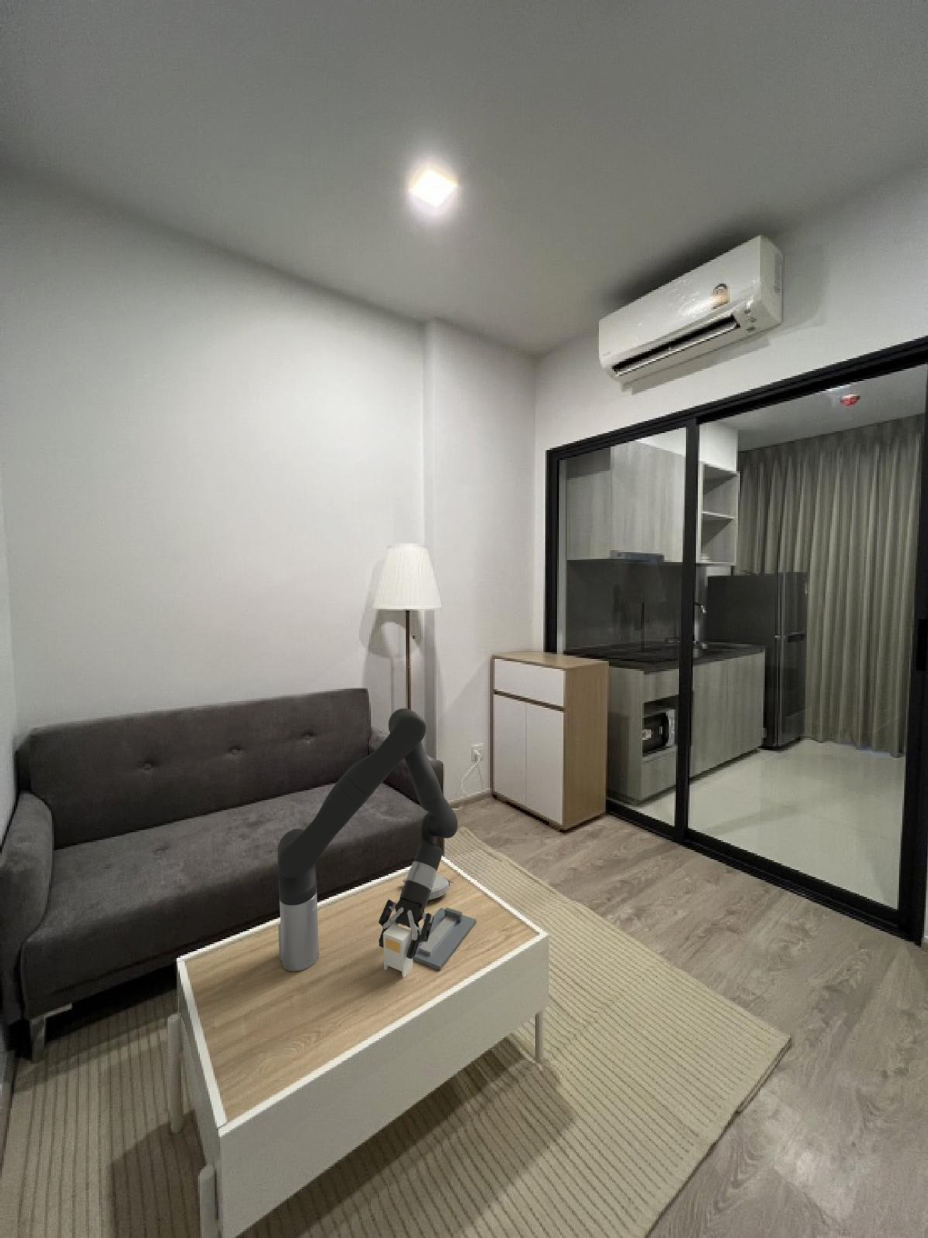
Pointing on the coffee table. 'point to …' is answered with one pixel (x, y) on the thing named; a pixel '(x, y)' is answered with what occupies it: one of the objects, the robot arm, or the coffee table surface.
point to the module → (397, 948)
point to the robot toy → (438, 887)
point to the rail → (441, 931)
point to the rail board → (445, 941)
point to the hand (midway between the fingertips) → (395, 952)
